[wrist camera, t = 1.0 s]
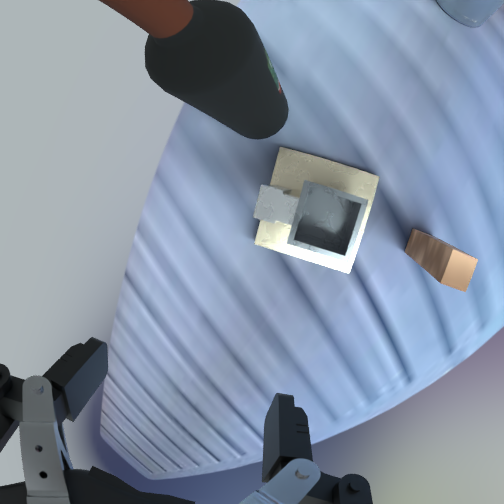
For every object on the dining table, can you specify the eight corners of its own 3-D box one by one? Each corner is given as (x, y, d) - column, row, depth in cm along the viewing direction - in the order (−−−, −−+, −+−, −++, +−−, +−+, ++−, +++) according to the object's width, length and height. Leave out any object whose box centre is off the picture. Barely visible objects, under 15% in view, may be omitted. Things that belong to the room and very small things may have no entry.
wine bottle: (217, 119, 34) (5, 25, 5) (251, 74, 31) (106, -93, 3) (264, 151, 33) (66, 51, 5) (300, 103, 31) (228, -108, 3)
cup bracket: (281, 148, 33) (267, 133, 23) (376, 177, 31) (399, 174, 22) (256, 241, 36) (234, 262, 27) (348, 269, 34) (357, 300, 25)
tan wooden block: (412, 228, 31) (453, 248, 20) (433, 236, 31) (478, 259, 20) (404, 252, 32) (440, 283, 21) (424, 259, 32) (465, 292, 20)
